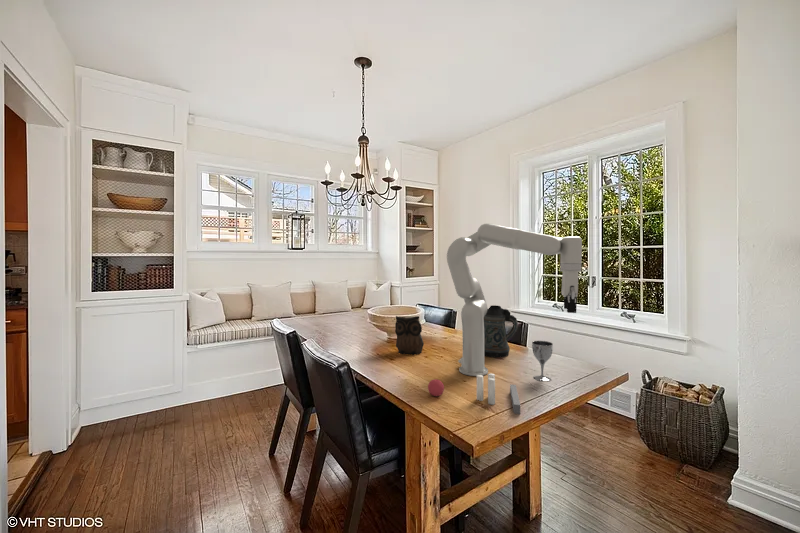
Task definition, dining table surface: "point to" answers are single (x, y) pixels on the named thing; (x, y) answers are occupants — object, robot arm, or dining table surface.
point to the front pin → (480, 387)
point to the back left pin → (491, 376)
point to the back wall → (515, 399)
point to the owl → (408, 335)
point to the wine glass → (542, 356)
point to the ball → (435, 387)
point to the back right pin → (491, 391)
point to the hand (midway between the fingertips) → (569, 310)
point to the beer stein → (497, 331)
